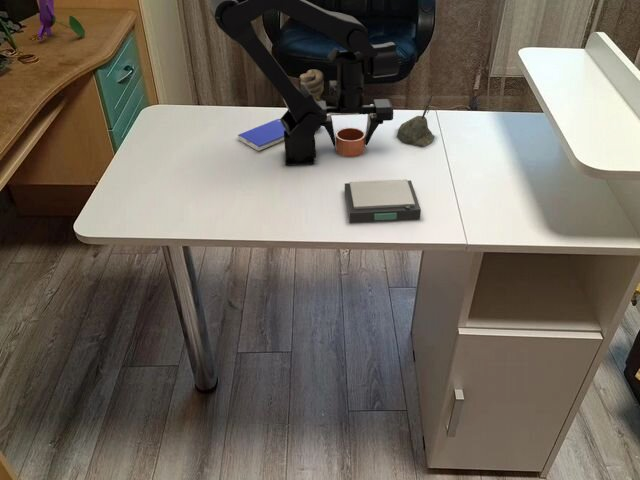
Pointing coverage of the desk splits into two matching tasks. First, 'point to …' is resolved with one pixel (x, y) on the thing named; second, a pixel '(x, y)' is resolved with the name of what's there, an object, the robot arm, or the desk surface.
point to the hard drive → (264, 135)
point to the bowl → (350, 142)
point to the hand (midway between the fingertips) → (350, 145)
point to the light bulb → (313, 83)
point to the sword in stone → (416, 130)
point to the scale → (381, 201)
